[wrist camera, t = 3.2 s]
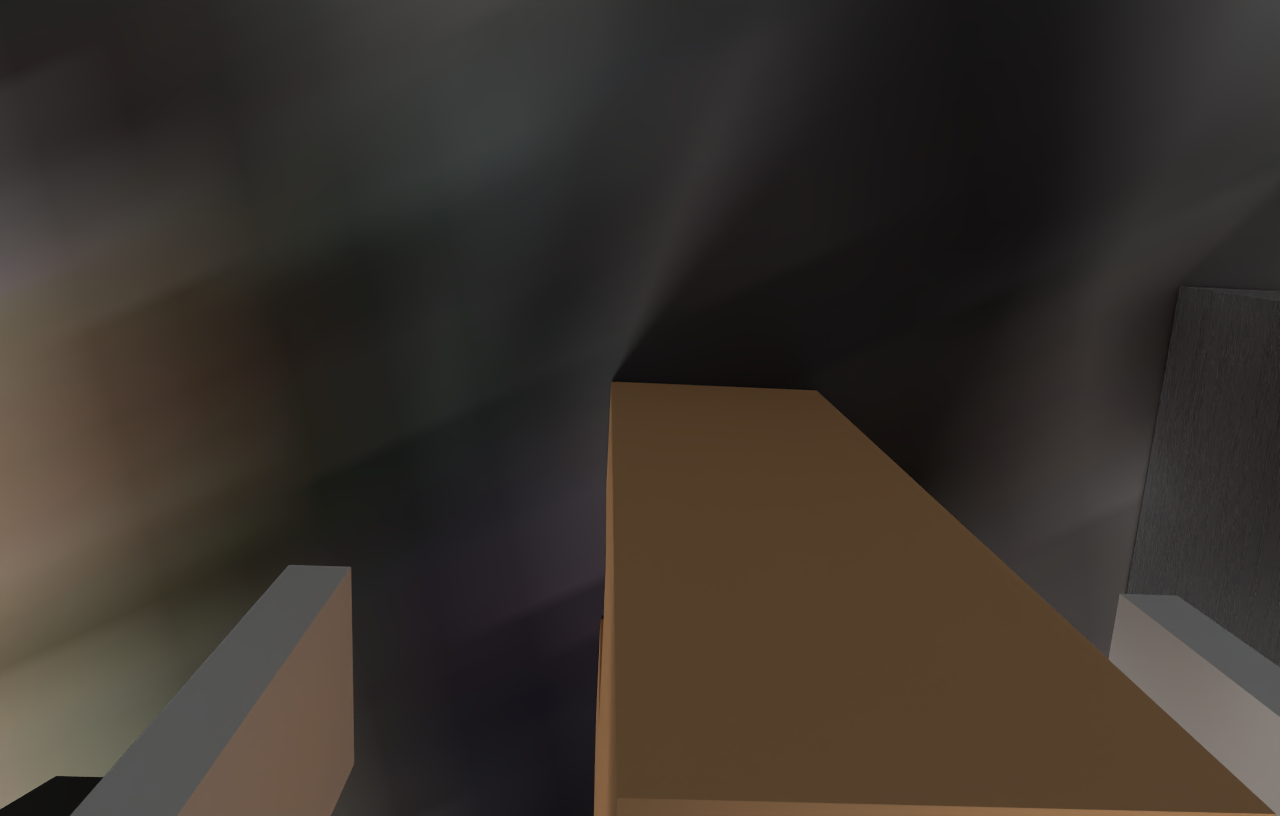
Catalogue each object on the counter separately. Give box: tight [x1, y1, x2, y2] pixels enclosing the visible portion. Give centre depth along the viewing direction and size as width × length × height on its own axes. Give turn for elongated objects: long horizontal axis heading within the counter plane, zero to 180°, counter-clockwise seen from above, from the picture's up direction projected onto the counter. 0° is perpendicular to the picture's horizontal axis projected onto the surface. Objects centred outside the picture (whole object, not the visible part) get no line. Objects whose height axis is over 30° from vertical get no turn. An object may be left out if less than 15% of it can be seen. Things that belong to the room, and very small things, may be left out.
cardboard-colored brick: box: [594, 382, 1276, 816], centre depth 11 cm, size 6×3×11 cm, turn 177°
